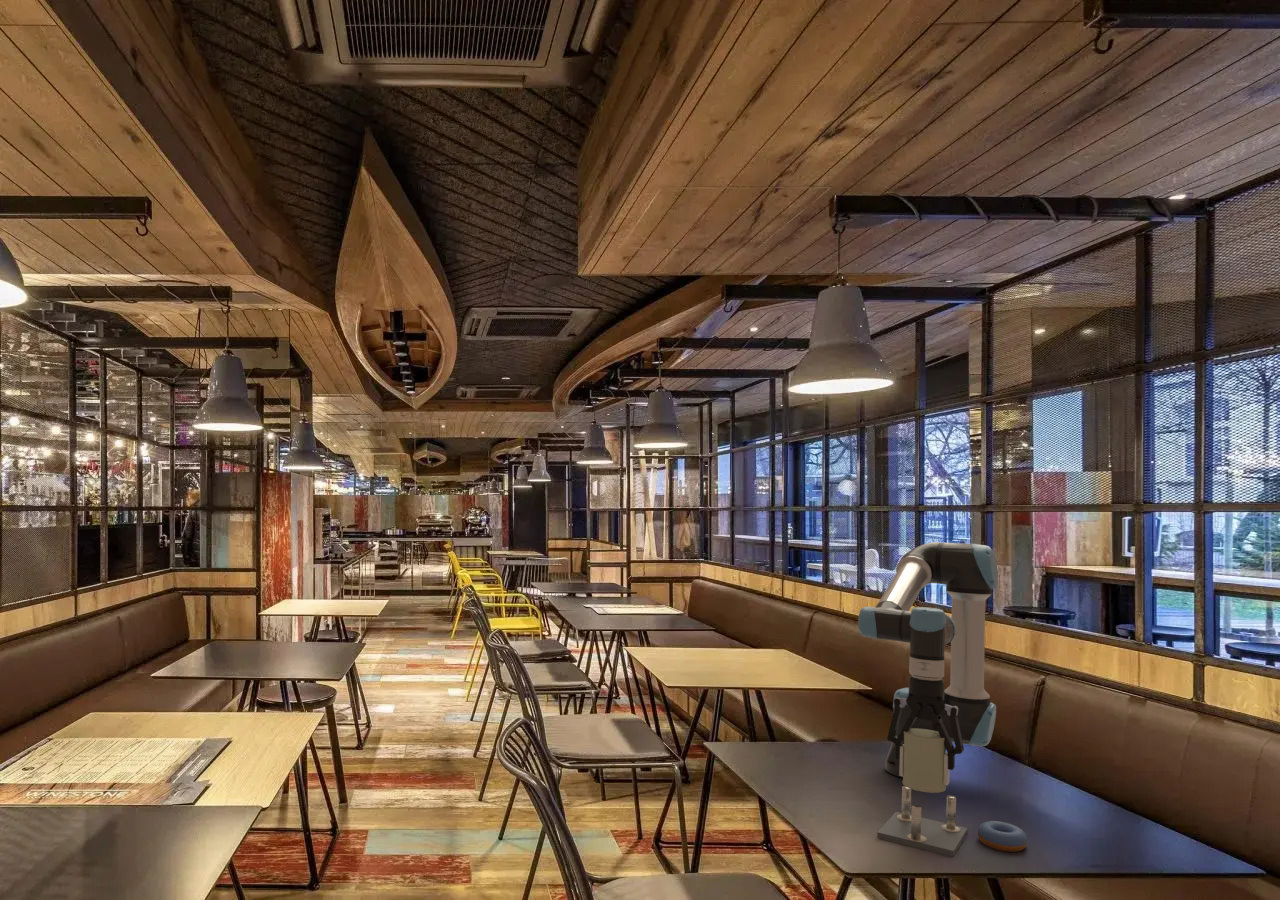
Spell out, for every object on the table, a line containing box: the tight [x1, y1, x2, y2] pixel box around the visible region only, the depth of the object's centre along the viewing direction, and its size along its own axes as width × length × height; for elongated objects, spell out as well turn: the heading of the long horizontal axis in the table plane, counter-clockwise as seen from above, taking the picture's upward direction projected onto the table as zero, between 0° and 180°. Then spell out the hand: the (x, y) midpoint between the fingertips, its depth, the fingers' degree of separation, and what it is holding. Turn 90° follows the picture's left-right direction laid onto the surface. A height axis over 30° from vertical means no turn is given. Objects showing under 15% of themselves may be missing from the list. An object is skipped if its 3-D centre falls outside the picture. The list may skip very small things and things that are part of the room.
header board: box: [876, 811, 969, 857], centre depth 183 cm, size 16×16×1 cm
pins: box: [901, 785, 957, 841], centre depth 183 cm, size 14×12×7 cm
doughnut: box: [977, 820, 1028, 853], centre depth 181 cm, size 10×10×5 cm
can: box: [901, 728, 947, 794], centre depth 184 cm, size 9×9×12 cm
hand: (924, 779), depth 184 cm, fingers closed on can, 9 cm apart
